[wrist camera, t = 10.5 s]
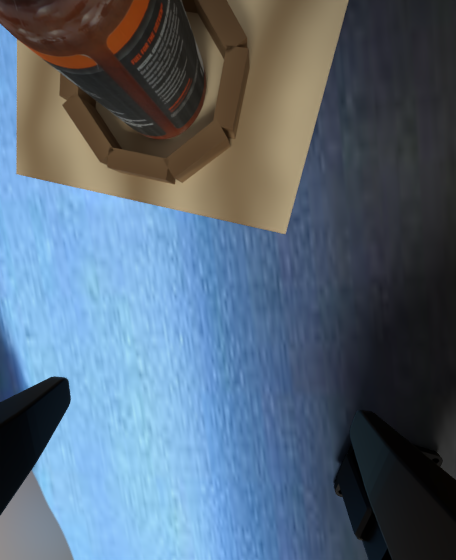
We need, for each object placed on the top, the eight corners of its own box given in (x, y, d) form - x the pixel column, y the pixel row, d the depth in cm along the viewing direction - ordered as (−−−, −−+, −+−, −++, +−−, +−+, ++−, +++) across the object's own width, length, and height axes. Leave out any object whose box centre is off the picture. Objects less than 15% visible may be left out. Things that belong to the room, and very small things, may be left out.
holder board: (349, -9, 14) (369, -63, 11) (283, 233, 17) (288, 234, 14) (33, -54, 15) (-13, -111, 13) (29, 176, 18) (-8, 168, 16)
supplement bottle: (213, 37, 14) (53, -640, 3) (203, 147, 15) (68, -52, 4) (119, 32, 15) (-300, -552, 4) (117, 138, 16) (-191, -56, 5)
